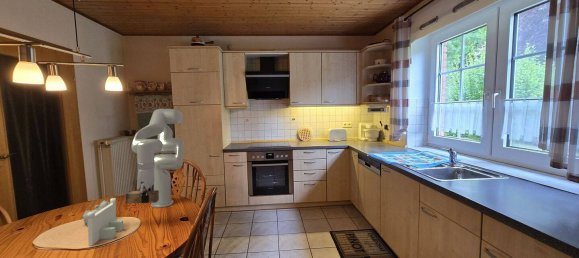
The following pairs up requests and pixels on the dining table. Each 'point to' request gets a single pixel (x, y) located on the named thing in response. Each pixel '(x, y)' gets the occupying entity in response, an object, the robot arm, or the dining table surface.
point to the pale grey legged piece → (103, 223)
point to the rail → (136, 197)
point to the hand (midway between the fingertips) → (147, 200)
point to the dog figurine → (101, 206)
